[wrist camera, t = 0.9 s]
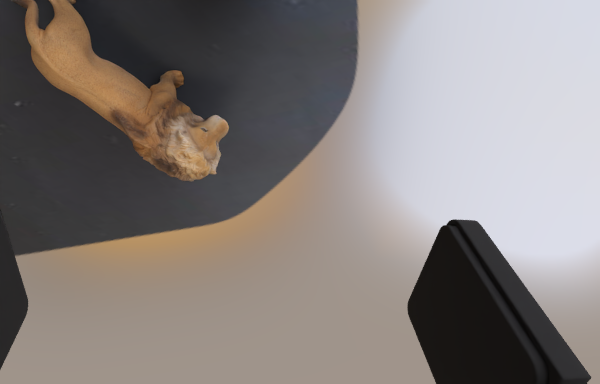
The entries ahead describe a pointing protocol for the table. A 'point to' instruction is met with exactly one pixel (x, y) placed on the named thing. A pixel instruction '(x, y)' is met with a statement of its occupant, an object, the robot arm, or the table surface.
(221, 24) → the table surface
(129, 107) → the lion figurine
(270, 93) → the table surface
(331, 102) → the table surface
